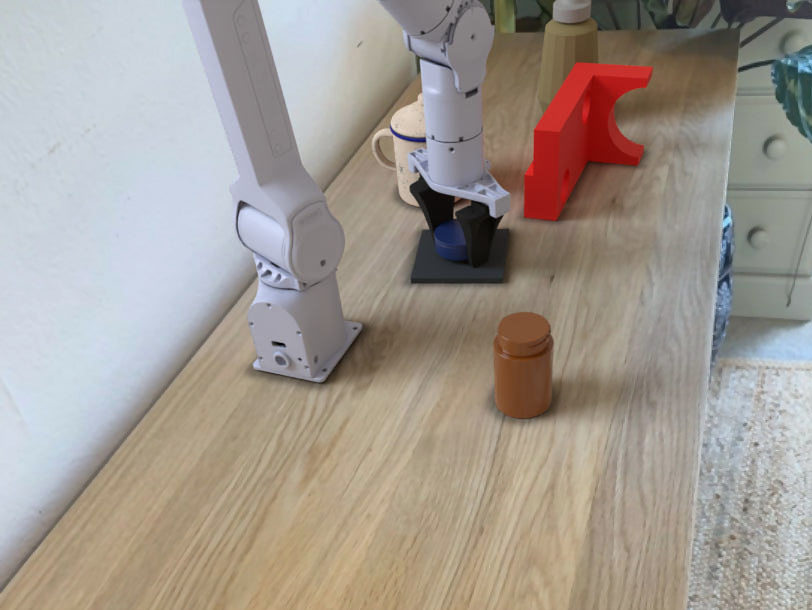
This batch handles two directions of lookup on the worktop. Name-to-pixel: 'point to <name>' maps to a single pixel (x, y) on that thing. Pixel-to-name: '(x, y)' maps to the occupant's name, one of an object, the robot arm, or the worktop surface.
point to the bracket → (579, 134)
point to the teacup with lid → (404, 145)
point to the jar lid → (450, 240)
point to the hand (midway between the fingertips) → (461, 252)
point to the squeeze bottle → (566, 46)
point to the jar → (523, 365)
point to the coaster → (459, 263)
